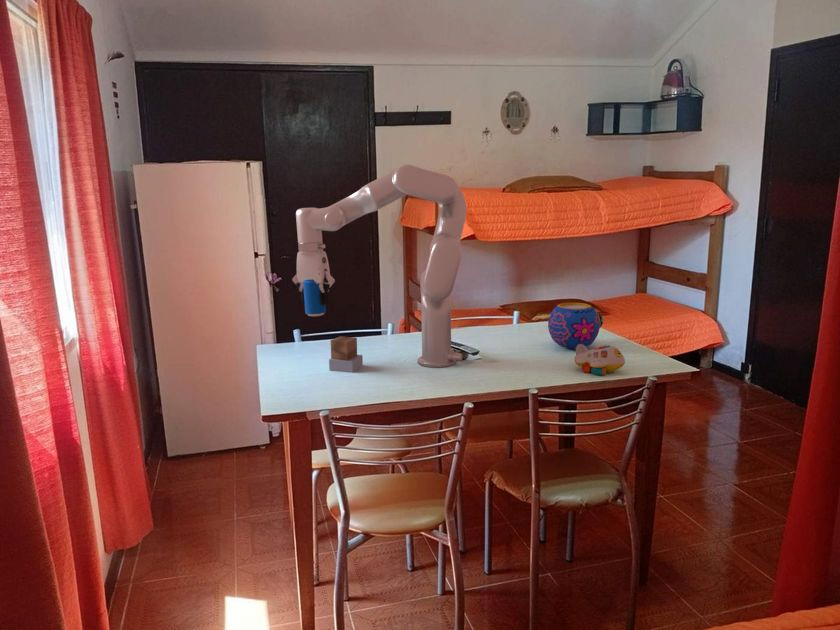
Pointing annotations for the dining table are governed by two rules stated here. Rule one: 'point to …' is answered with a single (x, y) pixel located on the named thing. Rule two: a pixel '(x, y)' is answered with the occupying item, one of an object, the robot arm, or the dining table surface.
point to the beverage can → (312, 298)
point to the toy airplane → (599, 359)
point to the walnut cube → (343, 348)
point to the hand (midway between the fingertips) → (315, 303)
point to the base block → (346, 364)
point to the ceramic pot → (574, 324)
